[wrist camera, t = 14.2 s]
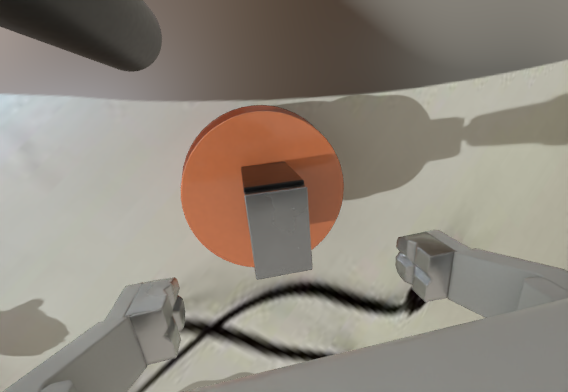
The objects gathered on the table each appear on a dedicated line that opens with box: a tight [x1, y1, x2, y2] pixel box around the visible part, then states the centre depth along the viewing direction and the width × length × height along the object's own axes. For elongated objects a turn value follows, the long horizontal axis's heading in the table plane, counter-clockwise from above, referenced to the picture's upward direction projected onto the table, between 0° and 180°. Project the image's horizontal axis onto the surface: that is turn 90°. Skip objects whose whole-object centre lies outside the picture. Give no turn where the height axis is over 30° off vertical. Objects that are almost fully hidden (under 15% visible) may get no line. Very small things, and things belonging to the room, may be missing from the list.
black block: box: [241, 162, 312, 280], centre depth 16 cm, size 5×3×6 cm, turn 5°
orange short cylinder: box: [181, 105, 344, 267], centre depth 24 cm, size 12×12×12 cm
